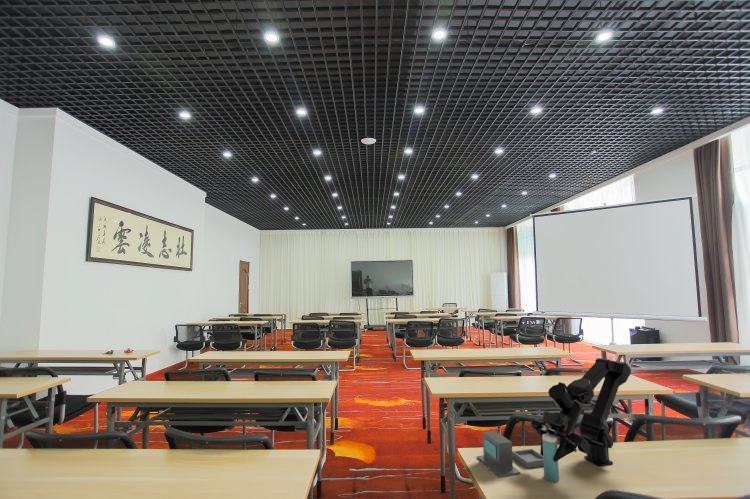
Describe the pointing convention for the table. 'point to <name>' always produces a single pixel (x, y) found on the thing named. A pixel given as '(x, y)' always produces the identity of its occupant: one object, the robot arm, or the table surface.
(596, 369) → the robot arm
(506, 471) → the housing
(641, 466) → the table surface
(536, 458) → the holder tray
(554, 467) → the canister
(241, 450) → the table surface
